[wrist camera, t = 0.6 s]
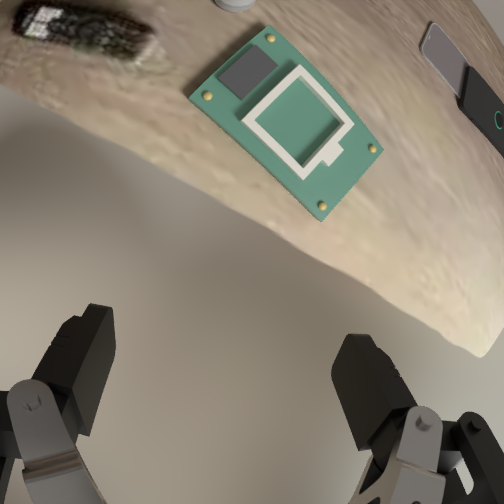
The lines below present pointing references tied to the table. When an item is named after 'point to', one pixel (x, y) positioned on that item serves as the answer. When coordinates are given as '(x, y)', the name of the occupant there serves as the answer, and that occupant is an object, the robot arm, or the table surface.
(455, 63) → the smartphone
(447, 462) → the robot arm
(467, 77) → the smart home device
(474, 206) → the table surface
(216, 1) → the rook chess piece
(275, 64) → the header board
